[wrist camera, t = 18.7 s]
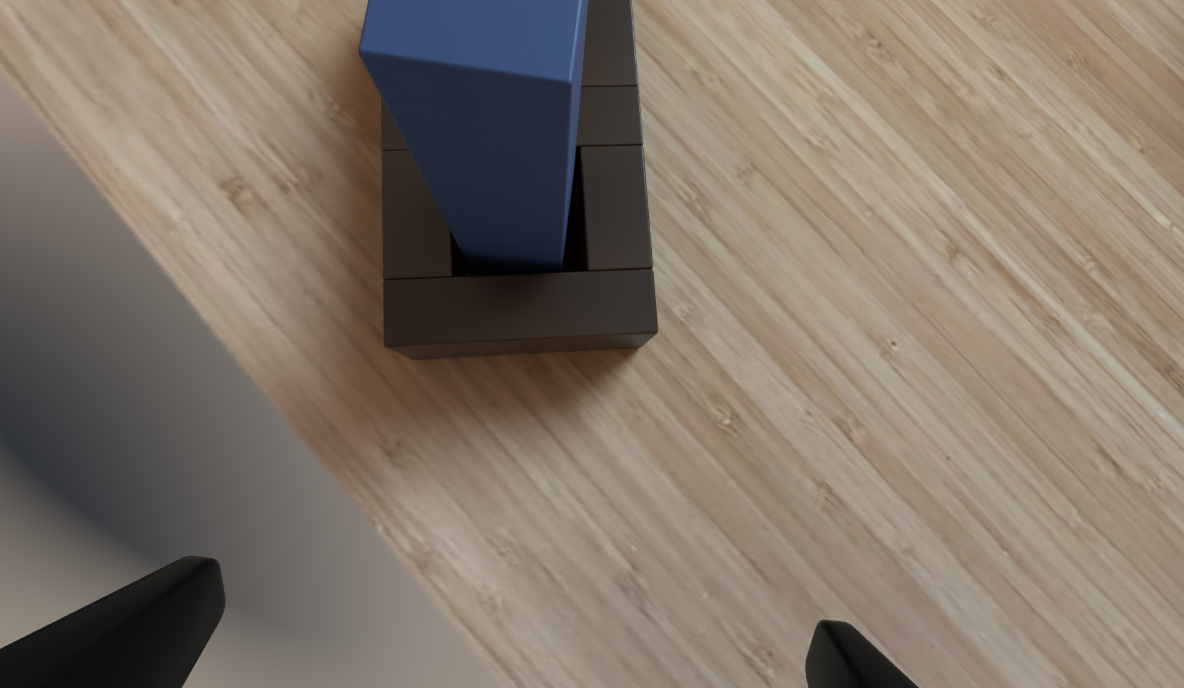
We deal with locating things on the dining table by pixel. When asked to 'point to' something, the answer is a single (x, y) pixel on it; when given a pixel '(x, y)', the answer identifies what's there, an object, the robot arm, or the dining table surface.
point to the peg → (487, 117)
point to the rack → (543, 300)
